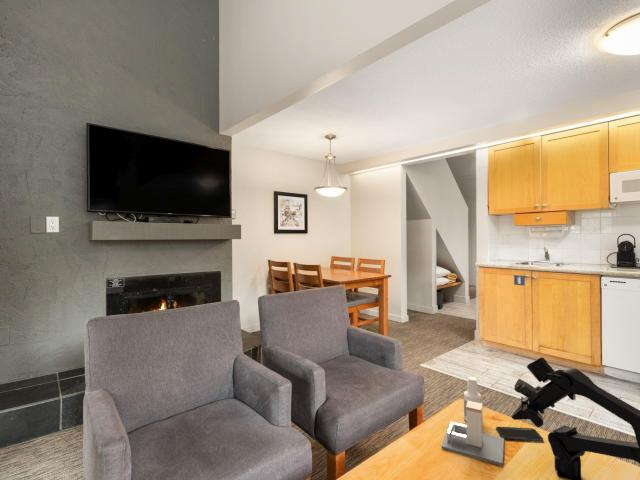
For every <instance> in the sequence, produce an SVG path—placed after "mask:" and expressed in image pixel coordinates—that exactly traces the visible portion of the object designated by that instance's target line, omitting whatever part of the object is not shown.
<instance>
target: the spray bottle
mask: <svg viewBox="0 0 640 480" xmlns="http://www.w3.org/2000/svg"><path fill="white" fill-rule="evenodd" d="M477 381H478V379H477V377H474V376H468V377H467V390H465V391H464V392H463V419H464V421H466V422H467V418H466V405H467V402H468V401H472V402H476V403H481V404H482V395H481V394H480V393H479V392H478V382H477Z"/></svg>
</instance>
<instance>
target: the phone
mask: <svg viewBox="0 0 640 480" xmlns="http://www.w3.org/2000/svg"><path fill="white" fill-rule="evenodd" d="M495 430H496V432H497V433H498V435H499V437H501V438H504V441H514V442H515V441H516V442H531V441H535V442H537V443H543V442H544V437H542V435H540V433H539V432H538V431H537V430H536V429H535V428H531V427H516V426H515V427H512V426H496V427H495ZM535 442H534V443H535Z"/></svg>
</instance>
